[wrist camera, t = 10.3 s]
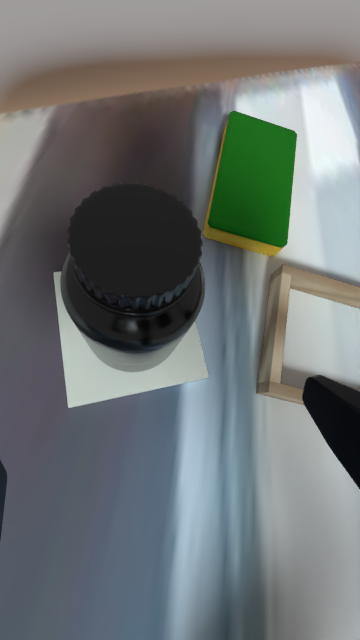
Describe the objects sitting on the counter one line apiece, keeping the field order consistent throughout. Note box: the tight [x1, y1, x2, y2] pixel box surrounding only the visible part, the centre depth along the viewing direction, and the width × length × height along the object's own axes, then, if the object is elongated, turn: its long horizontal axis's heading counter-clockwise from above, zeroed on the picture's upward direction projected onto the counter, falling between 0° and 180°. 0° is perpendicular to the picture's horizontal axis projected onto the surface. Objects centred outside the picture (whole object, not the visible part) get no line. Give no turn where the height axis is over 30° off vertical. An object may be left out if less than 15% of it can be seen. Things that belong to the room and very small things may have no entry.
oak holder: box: [257, 264, 360, 405], centre depth 23 cm, size 11×11×2 cm
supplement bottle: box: [60, 182, 205, 372], centre depth 15 cm, size 7×7×12 cm
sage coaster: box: [53, 272, 209, 408], centre depth 21 cm, size 10×10×1 cm
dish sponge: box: [203, 111, 297, 257], centre depth 27 cm, size 7×14×2 cm, turn 169°
